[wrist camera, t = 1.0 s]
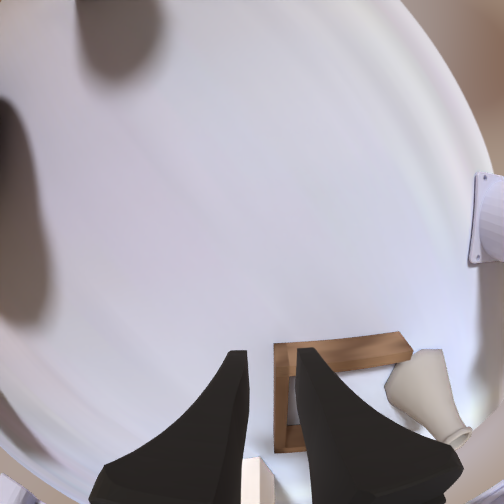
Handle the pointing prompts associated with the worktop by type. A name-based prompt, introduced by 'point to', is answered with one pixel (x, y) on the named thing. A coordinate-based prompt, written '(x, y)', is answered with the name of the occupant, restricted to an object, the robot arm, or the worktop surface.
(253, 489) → the milk
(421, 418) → the flask
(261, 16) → the worktop surface
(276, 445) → the box
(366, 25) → the worktop surface
